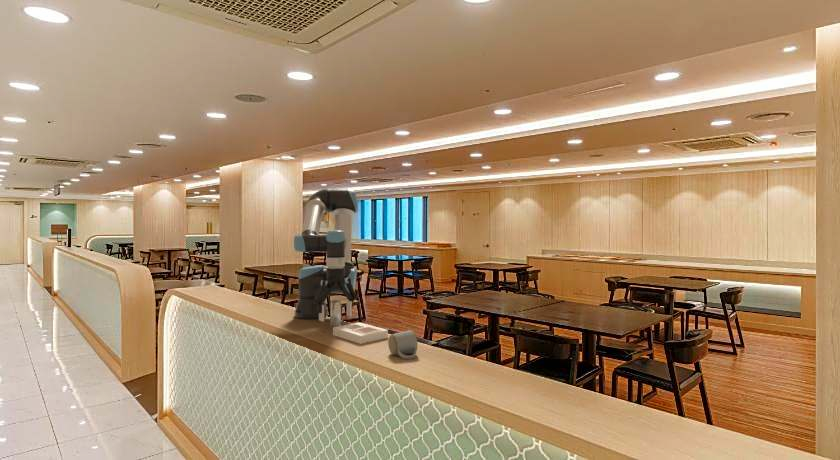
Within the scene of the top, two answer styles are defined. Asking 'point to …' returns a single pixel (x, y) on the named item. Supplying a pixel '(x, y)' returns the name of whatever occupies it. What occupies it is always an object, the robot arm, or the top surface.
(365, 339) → the pin board
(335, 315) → the pin
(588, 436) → the top surface
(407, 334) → the ceramic mug
